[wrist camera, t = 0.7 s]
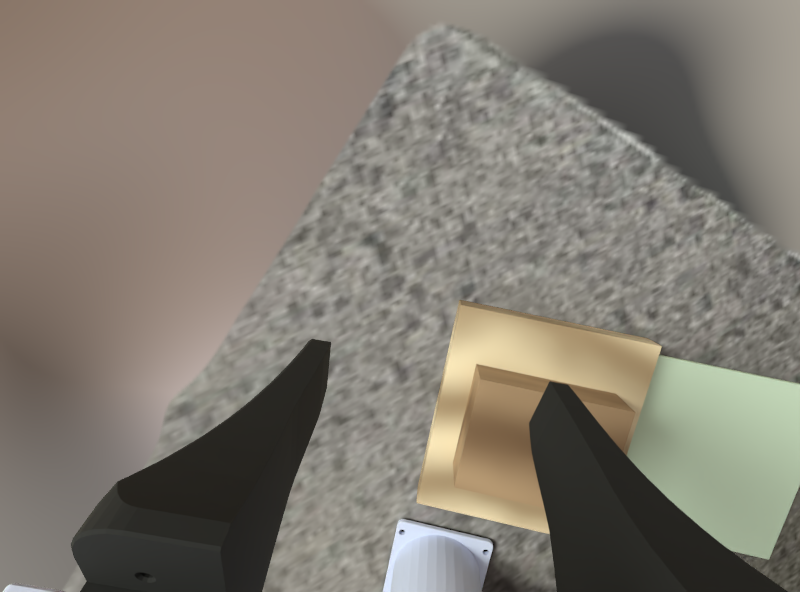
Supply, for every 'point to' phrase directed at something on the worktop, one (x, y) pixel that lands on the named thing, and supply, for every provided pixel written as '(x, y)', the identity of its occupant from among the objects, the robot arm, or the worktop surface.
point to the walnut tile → (517, 432)
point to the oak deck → (532, 355)
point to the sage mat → (722, 449)
